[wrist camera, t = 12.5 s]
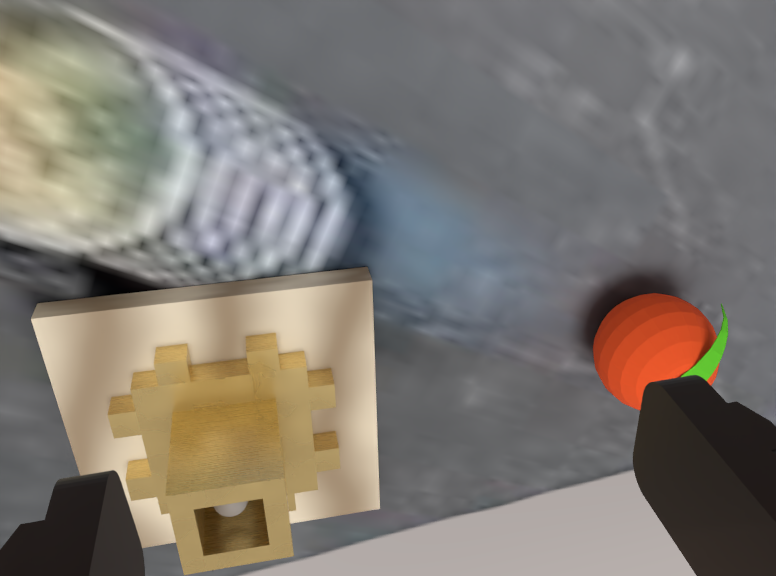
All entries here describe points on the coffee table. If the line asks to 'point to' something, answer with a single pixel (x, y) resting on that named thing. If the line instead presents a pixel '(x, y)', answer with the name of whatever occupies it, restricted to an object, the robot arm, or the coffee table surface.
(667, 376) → the clementine
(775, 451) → the robot arm
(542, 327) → the coffee table surface
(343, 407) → the carrier plate
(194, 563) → the gear
